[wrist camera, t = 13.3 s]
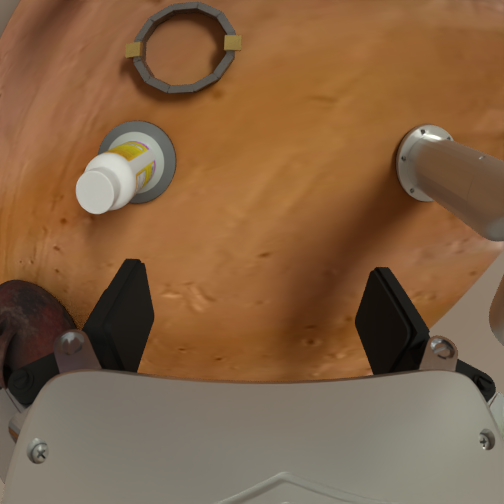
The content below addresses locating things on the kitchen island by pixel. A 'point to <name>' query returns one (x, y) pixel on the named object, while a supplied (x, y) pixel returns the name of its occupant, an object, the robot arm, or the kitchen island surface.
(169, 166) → the coaster
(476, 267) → the kitchen island surface
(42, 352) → the jug
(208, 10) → the collar
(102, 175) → the supplement bottle
